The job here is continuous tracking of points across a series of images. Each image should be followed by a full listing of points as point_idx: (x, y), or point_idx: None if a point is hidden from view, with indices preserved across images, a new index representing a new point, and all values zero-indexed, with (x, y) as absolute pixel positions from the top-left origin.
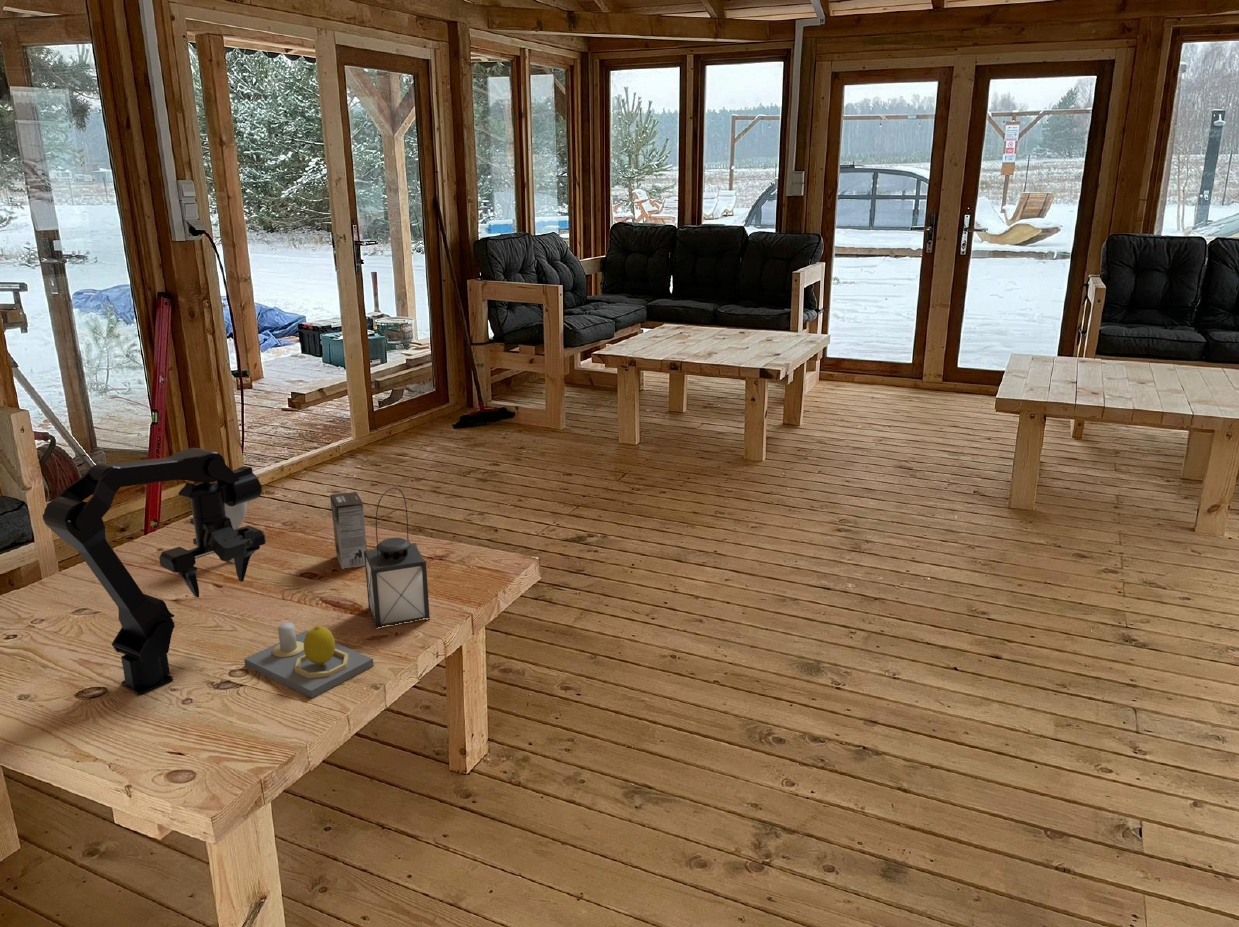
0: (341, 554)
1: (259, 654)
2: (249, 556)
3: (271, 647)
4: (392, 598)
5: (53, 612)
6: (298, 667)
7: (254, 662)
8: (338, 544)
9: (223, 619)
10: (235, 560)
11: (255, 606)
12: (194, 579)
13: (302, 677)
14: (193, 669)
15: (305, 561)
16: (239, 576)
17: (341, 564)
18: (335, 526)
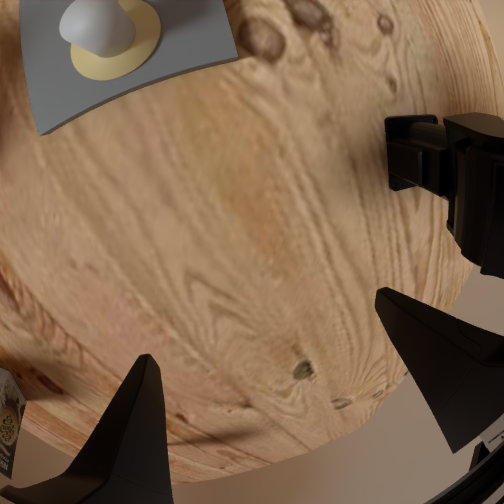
0: (1, 390)
1: (191, 53)
2: (74, 470)
3: (146, 75)
4: None
5: (359, 405)
6: None
7: (223, 19)
8: (3, 407)
9: (199, 331)
10: (163, 468)
11: (131, 347)
12: (465, 339)
13: None
14: (338, 135)
15: (62, 412)
16: (154, 382)
17: (7, 378)
18: (2, 434)
